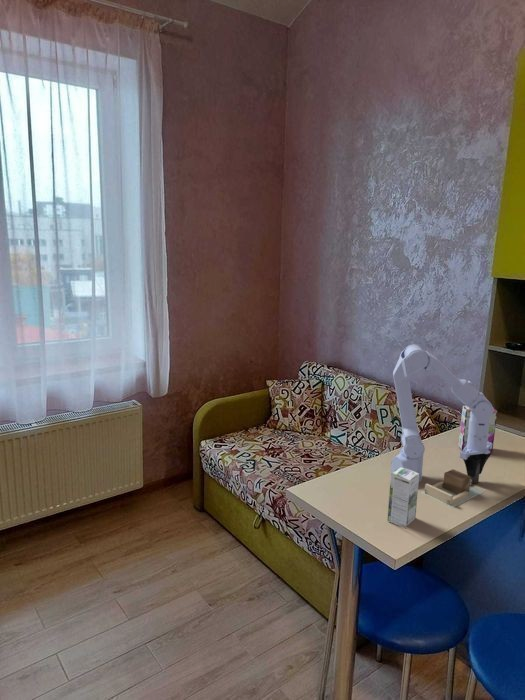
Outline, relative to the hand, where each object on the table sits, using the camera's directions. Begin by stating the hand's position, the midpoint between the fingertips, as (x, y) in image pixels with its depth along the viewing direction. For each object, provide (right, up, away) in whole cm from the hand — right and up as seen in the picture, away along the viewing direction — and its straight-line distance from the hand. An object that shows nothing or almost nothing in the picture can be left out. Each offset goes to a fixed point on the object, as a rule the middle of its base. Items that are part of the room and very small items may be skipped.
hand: (474, 474), depth 155 cm
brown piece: (-4, -3, -2) cm, 6 cm away
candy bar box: (+12, +2, +27) cm, 30 cm away
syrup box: (-29, -8, -20) cm, 36 cm away
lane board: (-9, -5, -6) cm, 12 cm away
